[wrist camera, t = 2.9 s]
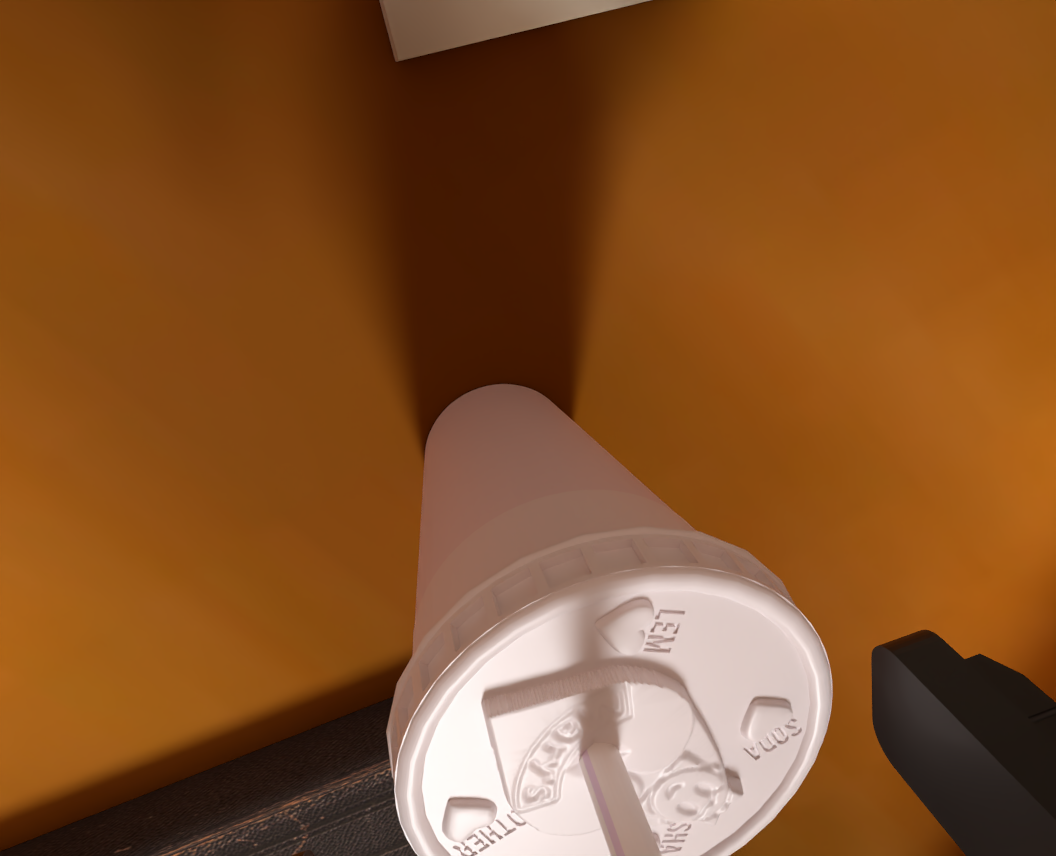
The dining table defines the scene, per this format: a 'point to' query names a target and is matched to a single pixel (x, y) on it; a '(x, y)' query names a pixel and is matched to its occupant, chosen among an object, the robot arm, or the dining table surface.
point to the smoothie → (588, 657)
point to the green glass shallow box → (475, 20)
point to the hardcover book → (260, 804)
